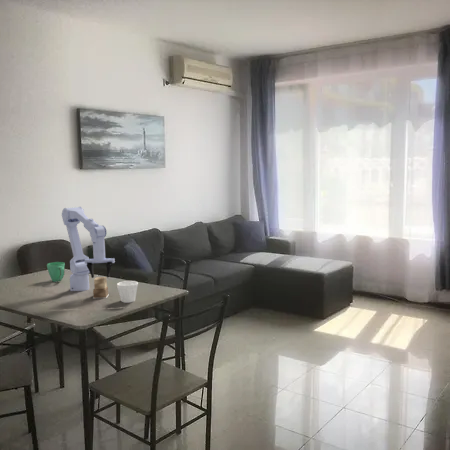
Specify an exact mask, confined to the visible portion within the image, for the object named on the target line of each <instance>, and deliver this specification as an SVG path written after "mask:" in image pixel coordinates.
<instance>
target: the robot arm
mask: <svg viewBox="0 0 450 450" xmlns="http://www.w3.org/2000/svg"><path fill="white" fill-rule="evenodd" d="M61 218H62V222H63V225H64V226H66V231H67V235H68V239H69V242H70V243H69V244H70V247H71V250H72V251H71V252H72V256H73V257H72V258H71V259H70V260H69V267H70V272H71V273H72V274H70V276H69V289H70V290H69V291H70V292H76V291H77V292H84V291H88V290H90V277H91V279H94V277H95V271H94V268H95V267H94V264H105V263H106V264H105V267H106V278H110V274H111V269H112V267H113V264H115V262H116V261H115V260H116V259H115V257H113V258H112V257H111V258H109V257H106V243H105V241H106V239H105V237H106V236H107V233H108V232H107V229H106V226H105V225H99V223H97V222H96V221H95V220H94V219H93V218H89V217H88V216H87V215H86V213H85V210H84V208H83V207H82V206H78V207H76V206H75V207H64V208H63V209H62V212H61ZM80 223H82V224H83V228H85V230H86V231H88V232H89V236H90V238H91V242H92V251H93V253H92V254H93V255H92V256H93V258H89V256H88V255H85V254H84V251H83V247H82V242H81V239H80V234H79V231H78V227H77V226H78V225H79V224H80ZM89 275H90V277H89Z"/></svg>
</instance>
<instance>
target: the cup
mask: <svg viewBox="0 0 450 450" xmlns="http://www.w3.org/2000/svg"><path fill="white" fill-rule="evenodd" d="M138 286H139V282H138V281H136V280H124V281H120V282H117V283H116V287H117V291H118V294H119V298H120V301H121V303H127V304H128V303H133V302H135V301H136V299H137V298H136V297H137V291H138Z"/></svg>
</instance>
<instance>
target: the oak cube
mask: <svg viewBox="0 0 450 450" xmlns="http://www.w3.org/2000/svg"><path fill="white" fill-rule="evenodd" d="M107 283H108V282H107V276H99V277H98V276H96V277H95V278H93V284H94V285H93V286H94V289H95V290H97V289H105V288H106V287H108V284H107Z"/></svg>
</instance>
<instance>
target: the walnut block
mask: <svg viewBox="0 0 450 450" xmlns="http://www.w3.org/2000/svg"><path fill="white" fill-rule="evenodd" d="M92 291H93V292H92V293H93V297H94V298H93V299H107V298H108V297H109V296H108V294H109V287H108V286H107V287H106V288H105V289H97V290H95V288H93V289H92ZM107 296H108V297H107ZM106 297H107V298H106Z"/></svg>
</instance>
